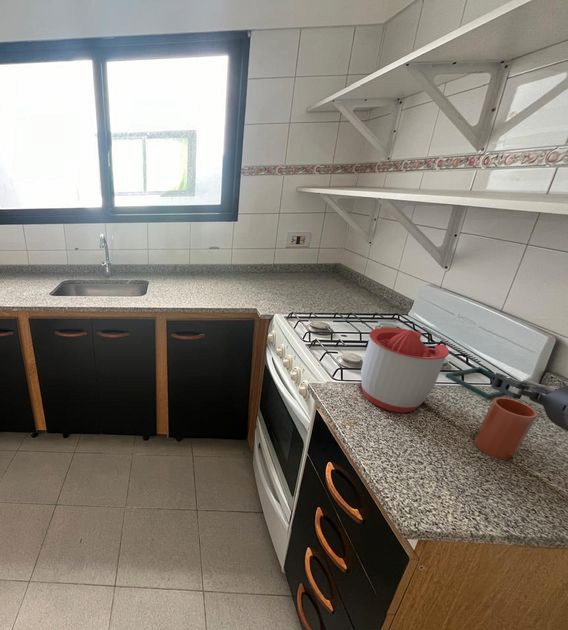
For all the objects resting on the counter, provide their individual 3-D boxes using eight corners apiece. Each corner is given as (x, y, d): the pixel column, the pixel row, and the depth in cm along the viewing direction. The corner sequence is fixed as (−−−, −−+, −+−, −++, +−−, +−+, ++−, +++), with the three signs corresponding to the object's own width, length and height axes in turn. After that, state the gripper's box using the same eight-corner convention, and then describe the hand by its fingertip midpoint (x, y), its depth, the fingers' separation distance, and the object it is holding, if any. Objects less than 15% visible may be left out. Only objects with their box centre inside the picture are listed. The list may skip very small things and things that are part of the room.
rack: (476, 374, 99) (479, 366, 98) (520, 395, 90) (524, 387, 89) (443, 381, 96) (446, 373, 95) (485, 403, 87) (489, 395, 86)
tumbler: (487, 435, 77) (507, 395, 73) (521, 456, 71) (545, 414, 67) (466, 441, 76) (485, 400, 71) (499, 463, 70) (522, 420, 66)
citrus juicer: (448, 413, 84) (479, 340, 76) (387, 423, 81) (413, 349, 73) (394, 377, 98) (415, 313, 90) (340, 385, 95) (357, 319, 87)
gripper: (680, 411, 47) (579, 378, 63) (550, 379, 51) (485, 355, 67) (654, 459, 49) (561, 415, 64) (529, 424, 53) (470, 391, 68)
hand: (522, 384), depth 65 cm, fingers open, 8 cm apart
